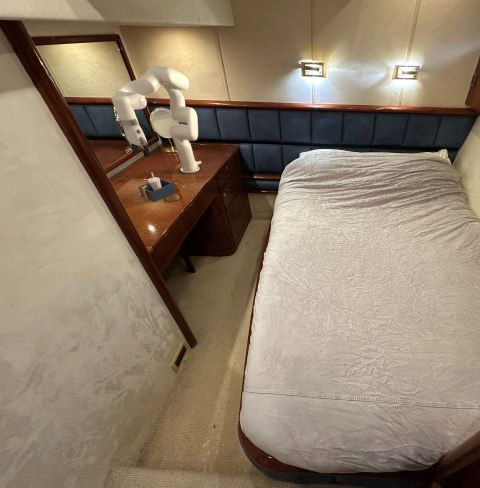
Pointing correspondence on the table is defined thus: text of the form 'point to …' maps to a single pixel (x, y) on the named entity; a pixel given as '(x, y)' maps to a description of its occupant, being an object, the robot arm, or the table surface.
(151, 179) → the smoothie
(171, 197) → the coaster
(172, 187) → the drawer
